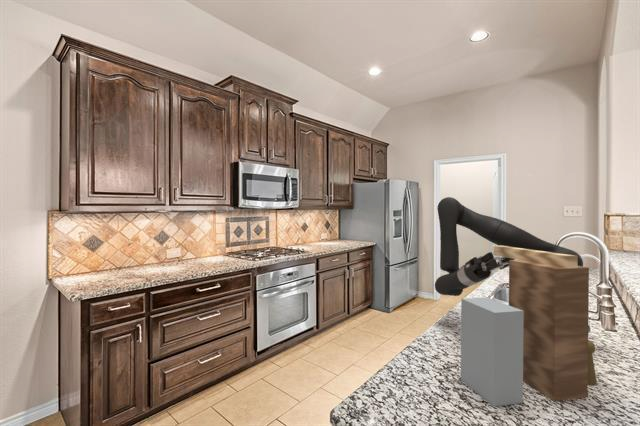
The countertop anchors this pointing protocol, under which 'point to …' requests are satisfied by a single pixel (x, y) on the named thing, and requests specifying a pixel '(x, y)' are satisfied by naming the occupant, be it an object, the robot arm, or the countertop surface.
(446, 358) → the countertop surface
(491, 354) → the grey rectangular block
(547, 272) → the tall walnut stand
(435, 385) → the countertop surface
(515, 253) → the beech bar
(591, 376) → the cork
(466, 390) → the countertop surface
